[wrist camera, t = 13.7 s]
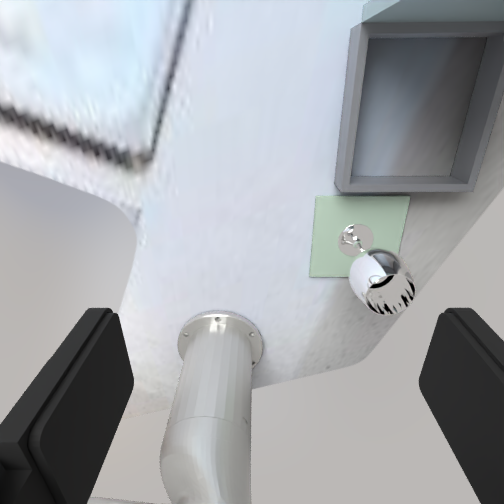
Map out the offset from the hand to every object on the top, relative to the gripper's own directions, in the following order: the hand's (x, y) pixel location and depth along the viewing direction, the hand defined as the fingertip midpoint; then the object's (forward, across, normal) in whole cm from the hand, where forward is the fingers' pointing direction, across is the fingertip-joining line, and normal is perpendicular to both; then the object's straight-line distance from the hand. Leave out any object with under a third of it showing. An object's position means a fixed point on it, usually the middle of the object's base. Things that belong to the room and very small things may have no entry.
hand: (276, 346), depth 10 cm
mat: (+30, -12, +10) cm, 34 cm away
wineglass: (+30, -12, +11) cm, 34 cm away
